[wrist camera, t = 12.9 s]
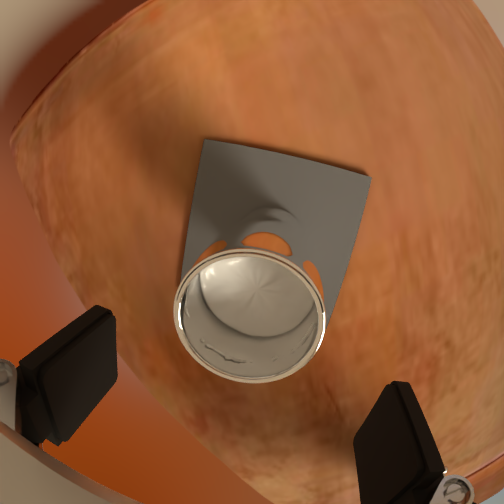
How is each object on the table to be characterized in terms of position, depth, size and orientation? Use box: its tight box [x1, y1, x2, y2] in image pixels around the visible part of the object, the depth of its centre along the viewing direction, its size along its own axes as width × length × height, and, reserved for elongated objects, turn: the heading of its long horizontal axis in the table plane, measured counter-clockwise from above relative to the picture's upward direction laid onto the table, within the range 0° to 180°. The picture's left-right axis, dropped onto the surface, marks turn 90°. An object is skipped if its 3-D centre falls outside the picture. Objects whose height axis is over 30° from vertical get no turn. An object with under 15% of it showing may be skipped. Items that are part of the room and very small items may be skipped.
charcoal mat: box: [180, 139, 372, 328], centre depth 27 cm, size 15×15×1 cm
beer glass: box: [173, 207, 326, 383], centre depth 19 cm, size 7×7×15 cm
